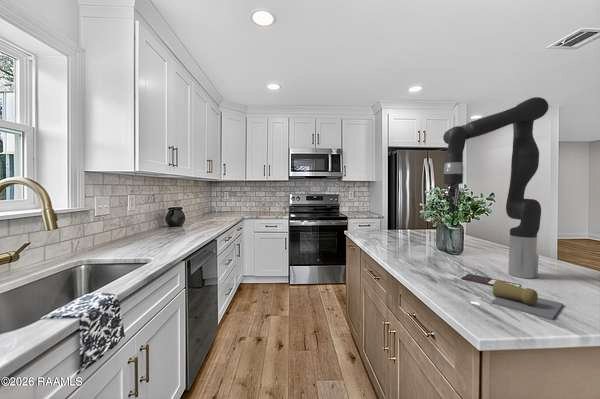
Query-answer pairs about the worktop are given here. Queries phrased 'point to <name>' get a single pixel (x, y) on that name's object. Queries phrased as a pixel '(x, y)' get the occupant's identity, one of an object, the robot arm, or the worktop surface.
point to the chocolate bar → (484, 280)
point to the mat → (532, 307)
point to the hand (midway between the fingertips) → (452, 212)
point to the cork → (514, 292)
